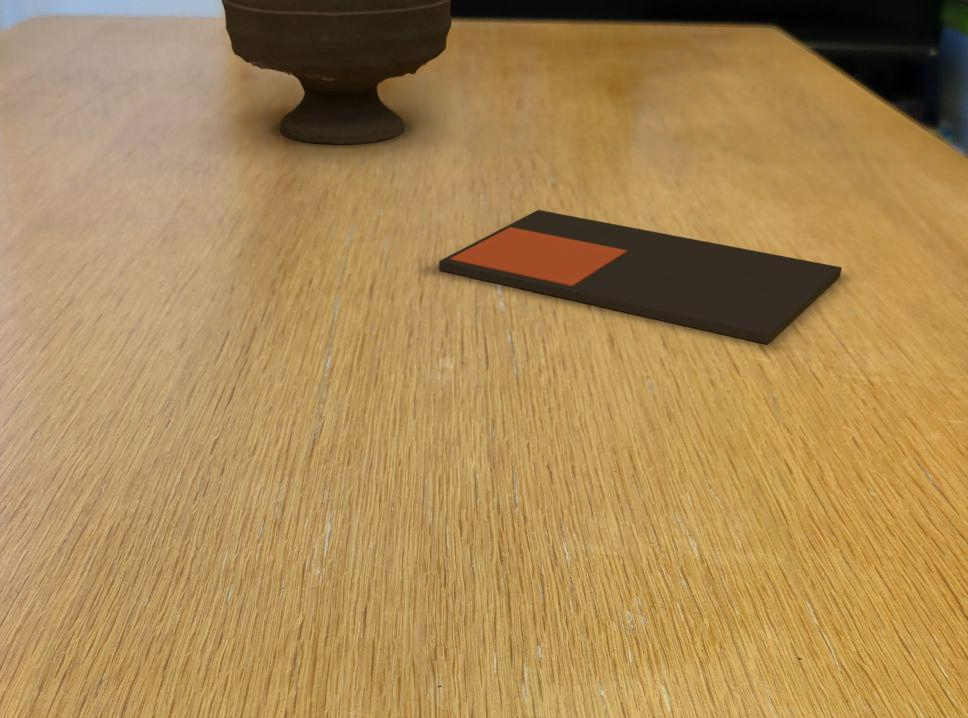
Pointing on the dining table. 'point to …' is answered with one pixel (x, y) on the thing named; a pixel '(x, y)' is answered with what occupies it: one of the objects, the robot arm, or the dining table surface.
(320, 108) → the pot
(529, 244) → the mat
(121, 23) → the dining table surface
